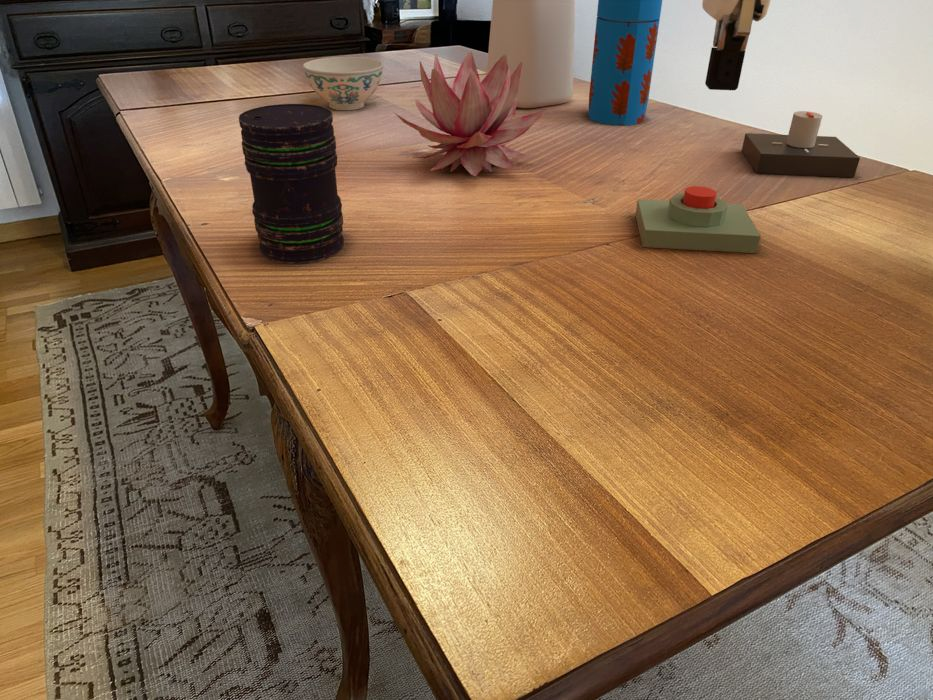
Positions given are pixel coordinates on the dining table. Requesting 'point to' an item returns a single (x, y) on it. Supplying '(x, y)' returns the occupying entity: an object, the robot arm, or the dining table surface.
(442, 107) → the decorative flower
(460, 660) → the dining table surface
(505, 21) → the plastic bottle
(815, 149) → the dial base
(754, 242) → the switch block
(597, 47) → the thermos
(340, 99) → the chinaware
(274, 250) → the dark brown cylinder
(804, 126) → the temp dial
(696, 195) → the power button
